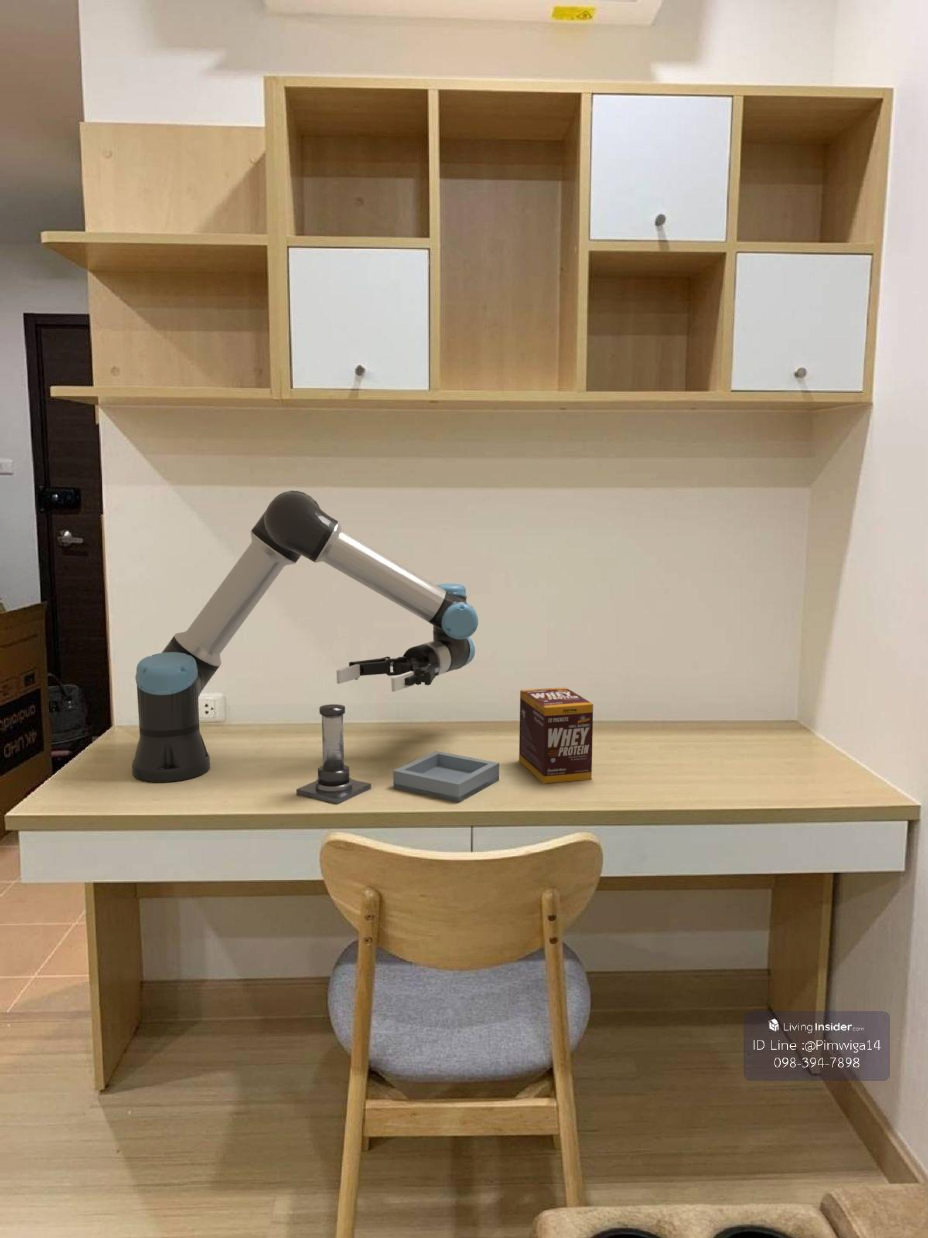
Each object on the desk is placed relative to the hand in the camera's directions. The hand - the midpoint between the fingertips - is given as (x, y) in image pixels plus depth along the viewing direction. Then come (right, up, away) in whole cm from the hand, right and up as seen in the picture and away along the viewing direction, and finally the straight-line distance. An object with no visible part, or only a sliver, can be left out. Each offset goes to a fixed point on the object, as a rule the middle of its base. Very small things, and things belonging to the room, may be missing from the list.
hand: (364, 680), depth 182 cm
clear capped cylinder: (-5, -19, -5) cm, 20 cm away
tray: (+16, -20, -1) cm, 26 cm away
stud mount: (-5, -21, -5) cm, 22 cm away
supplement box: (+38, -19, +8) cm, 43 cm away
